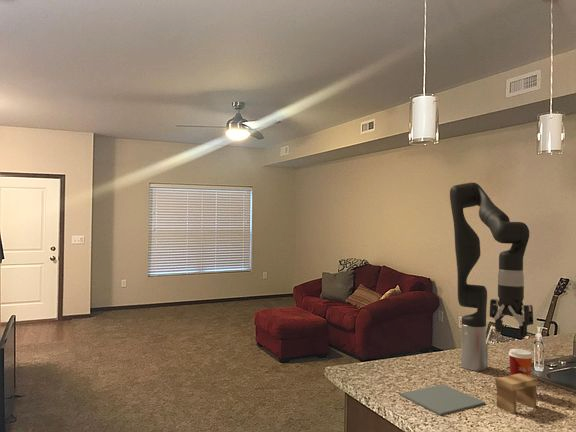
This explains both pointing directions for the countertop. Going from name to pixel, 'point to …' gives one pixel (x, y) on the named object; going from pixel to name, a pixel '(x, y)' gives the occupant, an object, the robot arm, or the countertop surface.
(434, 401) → the mat
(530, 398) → the tan wooden block
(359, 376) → the countertop surface
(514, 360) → the paper cup
